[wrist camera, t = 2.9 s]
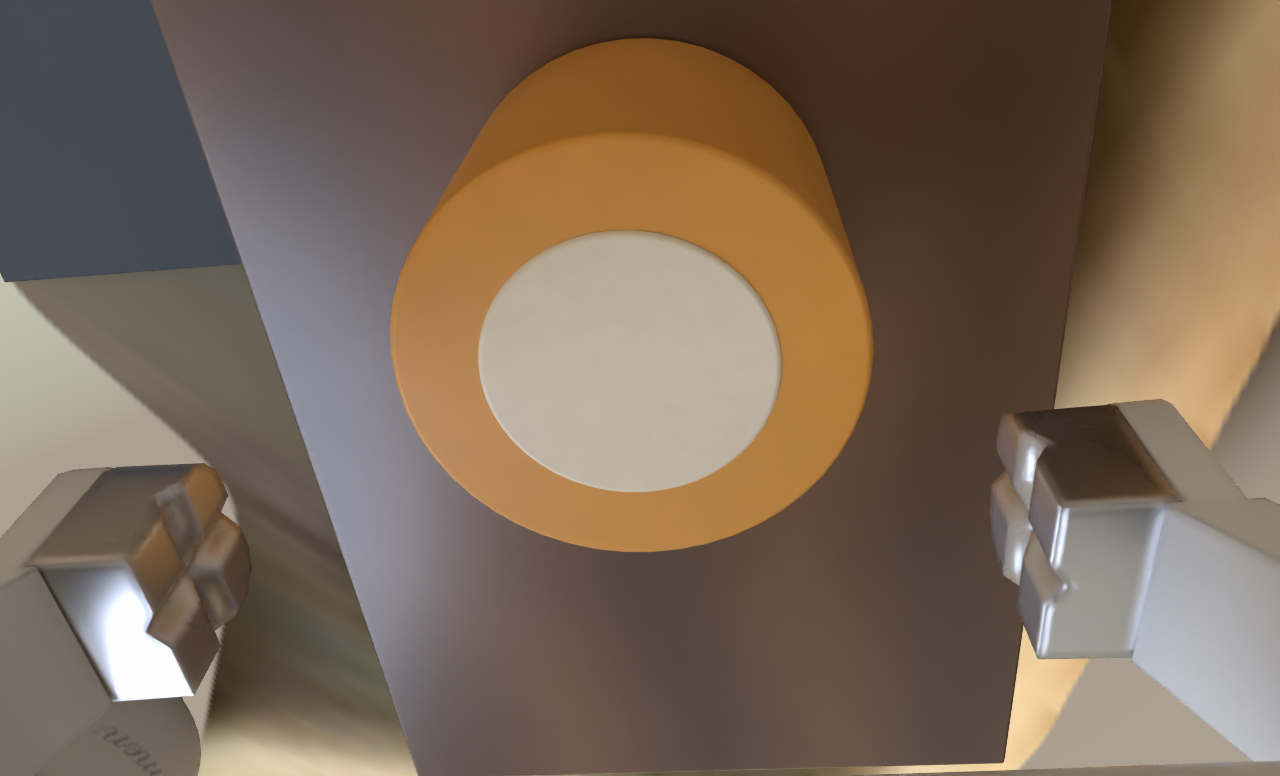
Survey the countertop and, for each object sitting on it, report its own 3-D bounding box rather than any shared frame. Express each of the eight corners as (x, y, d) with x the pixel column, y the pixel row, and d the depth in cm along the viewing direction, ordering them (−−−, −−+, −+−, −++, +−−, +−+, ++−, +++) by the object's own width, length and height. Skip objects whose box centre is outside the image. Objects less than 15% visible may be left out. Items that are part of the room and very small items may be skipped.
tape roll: (829, 16, 14) (882, 111, 10) (829, 369, 17) (870, 546, 13) (427, 55, 15) (330, 159, 11) (498, 390, 18) (442, 566, 14)
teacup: (204, 795, 45) (116, 978, 38) (-45, 723, 43) (-184, 902, 36) (268, 591, 38) (175, 771, 31) (-25, 494, 36) (-194, 663, 29)
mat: (261, -215, 23) (255, -215, 23) (382, 248, 30) (378, 253, 29) (-198, -157, 25) (-211, -156, 24) (11, 277, 31) (4, 282, 31)
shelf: (944, -248, 22) (1151, -264, 12) (909, 458, 33) (1005, 764, 23) (353, -177, 24) (100, -138, 14) (499, 481, 34) (418, 780, 24)
